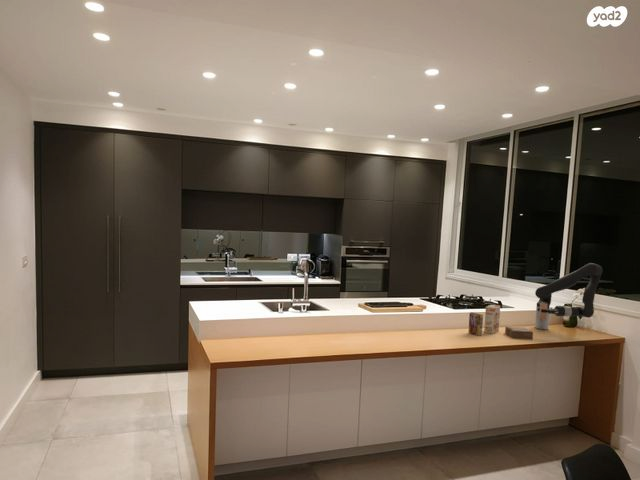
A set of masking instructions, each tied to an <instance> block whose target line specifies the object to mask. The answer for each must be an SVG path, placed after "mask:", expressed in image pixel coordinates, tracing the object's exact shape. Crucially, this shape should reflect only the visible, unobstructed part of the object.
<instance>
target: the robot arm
mask: <svg viewBox="0 0 640 480" xmlns="http://www.w3.org/2000/svg"><path fill="white" fill-rule="evenodd" d="M602 273H603V267H602V266H601V265H599V264H596V263H594V262H593V263H592V262H589V263H587V264H585V265H584V266H582V267H580V268H578V269H577V270H574V271H573V272H571V273H568V274H566V275H564V276H562V277H560V278H558V279H555V280H554V281H552V282H550V283H548V284H546V285H542V286H539V287H537V288H536V290H535V292H534V294H535V297H537V298H538V299H539V300H538V302H536V310H535V311H536V312H535V326H534V328H535V329H540V330H548V329H549V321H550V320H549V319H550V317H549V316H550V314H552V315H554V316H556V317H563V318H564V317H565V318H566V317H582V318H588V319H589V318H591V317H593V315H594V313H595V311H594V310H595V309H594V308H595V307H594V301H595V296H596V291H597V287H598V285H599V282H600V281H601V276H602V275H603V274H602ZM589 276H590V277H589ZM587 277H589V278H590V279H589V282H588V283H587V285H586V287H585V289H584V292H583V296H582V303H583V305H584V306H567V305H555V307H550V306H551V303H552V294H554V293H557V292H560V291H564V290H567V289H569V288H571V287H573V286H575V285H577V283H579V281H581V280H582V279H584V278H587ZM541 302H545V303H547V310H546V309H541V312H543V313H547V319H546V321H544V320H539V313H540V303H541Z"/></svg>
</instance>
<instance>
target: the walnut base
mask: <svg viewBox="0 0 640 480" xmlns="http://www.w3.org/2000/svg"><path fill="white" fill-rule="evenodd" d="M504 329H505V331H504V332H505V333H504V334H505V335H506V336H507V335H508V336H509V337H510V338H512V339H525V340H527V339H528V340H533V338H534V337H533V336H534V332H533V331H532V330H530V329H528V328H526V327H525V326H524V327H521V326H520V327H519V326H505V328H504Z"/></svg>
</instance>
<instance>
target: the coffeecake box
mask: <svg viewBox="0 0 640 480" xmlns="http://www.w3.org/2000/svg"><path fill="white" fill-rule="evenodd" d="M484 315H485V316H484V326H483V327H484V328H483V329H484V331H483V332H484V333H486V334H490V335H494V334H496V333H498V332H500V315H501V305H498V304H490V305H489V304H488V306H485V313H484Z"/></svg>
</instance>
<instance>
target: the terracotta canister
mask: <svg viewBox="0 0 640 480" xmlns="http://www.w3.org/2000/svg"><path fill="white" fill-rule="evenodd" d="M541 309H546V310H547V303H545V302H541V303H540V313H539V320H544V321H546V319H547V313H543V312H541Z"/></svg>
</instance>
